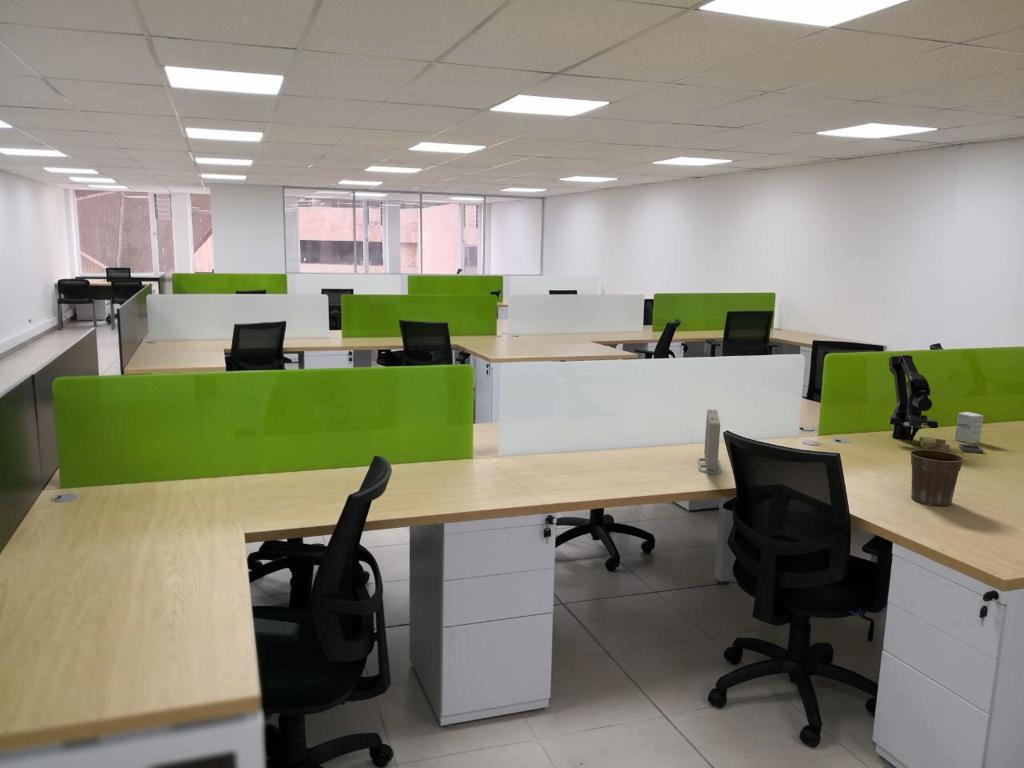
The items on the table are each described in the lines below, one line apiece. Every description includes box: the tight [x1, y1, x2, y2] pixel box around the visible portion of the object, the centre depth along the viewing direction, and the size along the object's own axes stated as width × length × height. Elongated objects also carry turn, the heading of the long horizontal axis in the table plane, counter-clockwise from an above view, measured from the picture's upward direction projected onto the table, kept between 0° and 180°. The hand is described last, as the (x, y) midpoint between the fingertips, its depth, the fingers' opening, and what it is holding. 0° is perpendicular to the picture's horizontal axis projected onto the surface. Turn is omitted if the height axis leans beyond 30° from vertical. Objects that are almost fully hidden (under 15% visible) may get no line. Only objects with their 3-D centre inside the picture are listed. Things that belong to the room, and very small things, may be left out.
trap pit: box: [958, 443, 984, 454], centre depth 334 cm, size 8×8×2 cm
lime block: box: [919, 436, 936, 447], centre depth 340 cm, size 5×5×4 cm
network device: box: [696, 409, 723, 474], centre depth 300 cm, size 26×9×20 cm, turn 168°
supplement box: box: [954, 411, 984, 445], centre depth 349 cm, size 7×7×13 cm
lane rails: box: [918, 436, 951, 452], centre depth 339 cm, size 10×11×2 cm
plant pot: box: [909, 448, 965, 507], centre depth 264 cm, size 16×16×16 cm
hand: (910, 441), depth 342 cm, fingers closed
